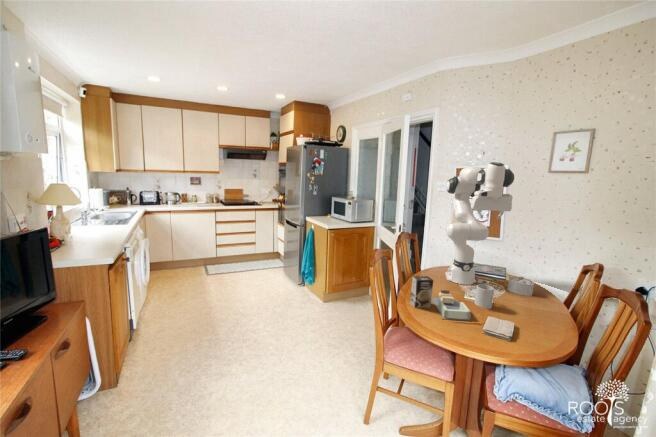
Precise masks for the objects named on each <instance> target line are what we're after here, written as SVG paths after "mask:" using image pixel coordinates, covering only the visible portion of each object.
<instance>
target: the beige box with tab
mask: <svg viewBox="0 0 656 437" xmlns="http://www.w3.org/2000/svg"><path fill="white" fill-rule="evenodd" d="M438 298H439V299H440V300H441V301H442V302H443V303H444V304H445V303H450V305H452V304H454V299H455V298H454V296H453V295H452V293H450V290H448V289H440V292H438Z"/></svg>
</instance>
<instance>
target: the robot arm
mask: <svg viewBox="0 0 656 437" xmlns="http://www.w3.org/2000/svg"><path fill="white" fill-rule="evenodd" d="M514 181H515V174H514V172H513V171H512V170H511V169H510V168H506V166H505V164H504V163H502V162H498V161H497V162H493V161H492V162H489V163H488V164H487V167H483V168H480V167H477V166H474V165H473V166H471V165H470V166H466V167H463V168H462V169H461V170H460V171H459V175H458V176H456V175H455V176H453V177H451V178H450V179H447V181H446V185H445V187H446V188H445V189H446V191H447V193H449V194H452V195H455V196H454V197H453V204H452V206H453V212H454V218H455V219H456V221H457V222H454V223H450V224H448V225H447V228H446V235H447V237H448V239H450V240H451V241H452V242H453V244H454V247H455V256H454V259H453V263H452V264H451V265H450V266H449V267H448V268H447V271H445V278H446V280H447V281H450V282H453V283H456V284H460V285H465V286H467V285H469V286H470V285H473V284H474V283H477V279H475V278H476V277H475V275H476V270H475V268H474V264H475V262H474V257H475V250H474V248H473V247H472V246H470V245H468V244H467V241H475V242H476V241H477V242H479V241H485V240H487V238H488V237H489V234H490V231H489V228H488V227H487V226H486V225H485V224H483V223H481V222H480V221H479V220H478V218H479V219H483V218H484V215H483V214H482V211H489V212H490V211H494V212H495V211H496V212H499V214H498V215H496V220H501V219H502V216H503V215H504V213H505V212H511V211H512V209H513V208H512V207H513V203H512V202H513V198H514V197H513V196H512V194H510V193H503V192H504V188H508V187H509V186H512V184H513V183H514ZM482 186H483V189H481V188H482ZM470 197H471V198H472V199H471V198H470ZM470 199H471V200H472V201H471V200H470ZM470 201H471V202H470ZM473 210H474V211H477V214H478V218H476V217H475V215H474V213H473Z"/></svg>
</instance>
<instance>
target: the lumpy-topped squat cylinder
mask: <svg viewBox="0 0 656 437" xmlns="http://www.w3.org/2000/svg"><path fill="white" fill-rule="evenodd" d="M508 278H509V279H508V283H507V290H508V291H509V292H511V293H512V294H513V293H514V294H516V295H520V296H521V295H522V296H525V297H527V296H528V297H532V296H533V293H534V287H535V284H534V281H533V280H532V279H530V278H525V277H524V276H512V277H508Z"/></svg>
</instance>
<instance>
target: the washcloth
mask: <svg viewBox="0 0 656 437" xmlns="http://www.w3.org/2000/svg"><path fill="white" fill-rule="evenodd" d="M514 329H515V322H513V321H510V320H504V319H500V318H497V317H494V316H490V315H489V316H487V319H486V321H485V323H484V325H483V328H482V334H485V335H487V336H489V337H492V338H497V339H500V340H504V341H506V342H510V341H511V340H512V338H513V334H514Z"/></svg>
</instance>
